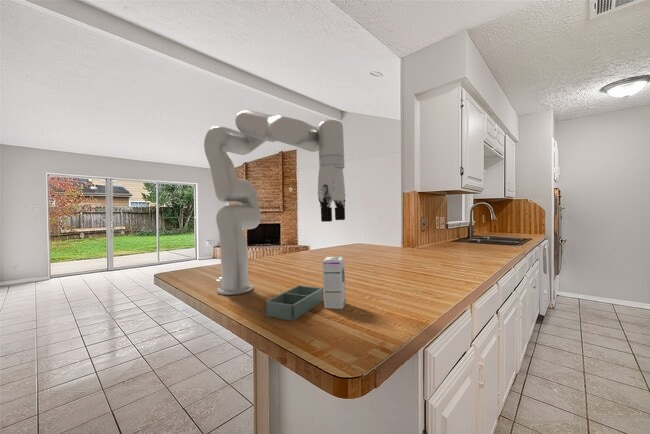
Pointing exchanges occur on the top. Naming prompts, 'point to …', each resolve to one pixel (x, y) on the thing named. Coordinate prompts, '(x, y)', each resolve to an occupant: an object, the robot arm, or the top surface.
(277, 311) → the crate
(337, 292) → the syrup box
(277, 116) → the robot arm
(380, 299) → the top surface
